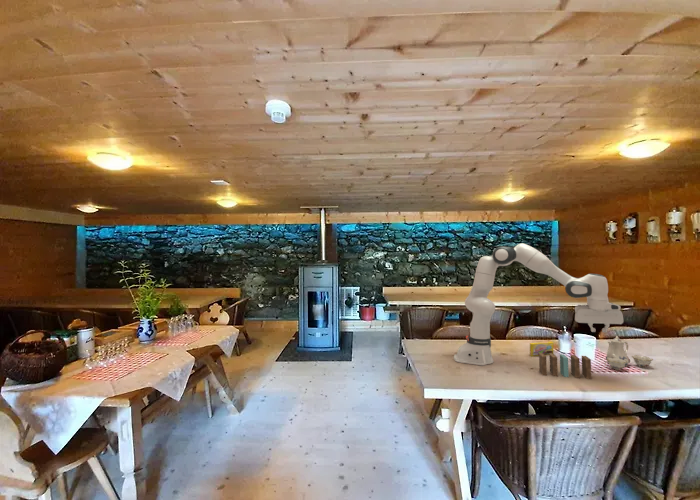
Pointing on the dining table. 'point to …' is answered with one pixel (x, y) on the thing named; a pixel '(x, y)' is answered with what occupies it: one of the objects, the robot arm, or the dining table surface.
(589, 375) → the domino
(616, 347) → the chinaware
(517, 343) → the dining table surface
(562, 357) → the placed domino
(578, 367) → the domino
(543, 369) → the domino
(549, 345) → the candy box
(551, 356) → the domino
